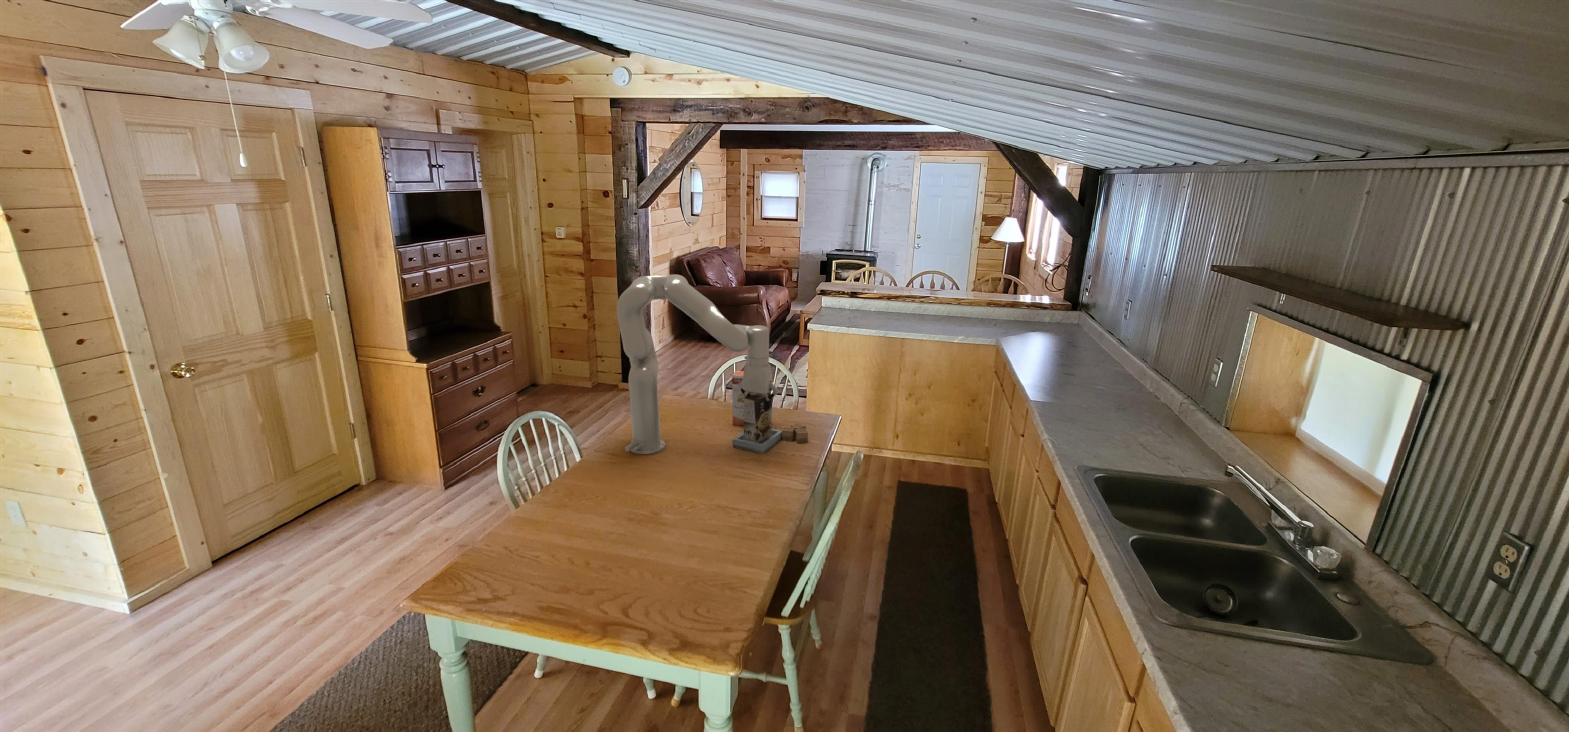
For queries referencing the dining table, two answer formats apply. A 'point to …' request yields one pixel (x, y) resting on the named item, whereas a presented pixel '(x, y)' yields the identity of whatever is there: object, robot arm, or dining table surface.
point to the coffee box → (757, 419)
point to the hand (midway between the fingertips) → (757, 407)
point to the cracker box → (738, 399)
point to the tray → (760, 446)
